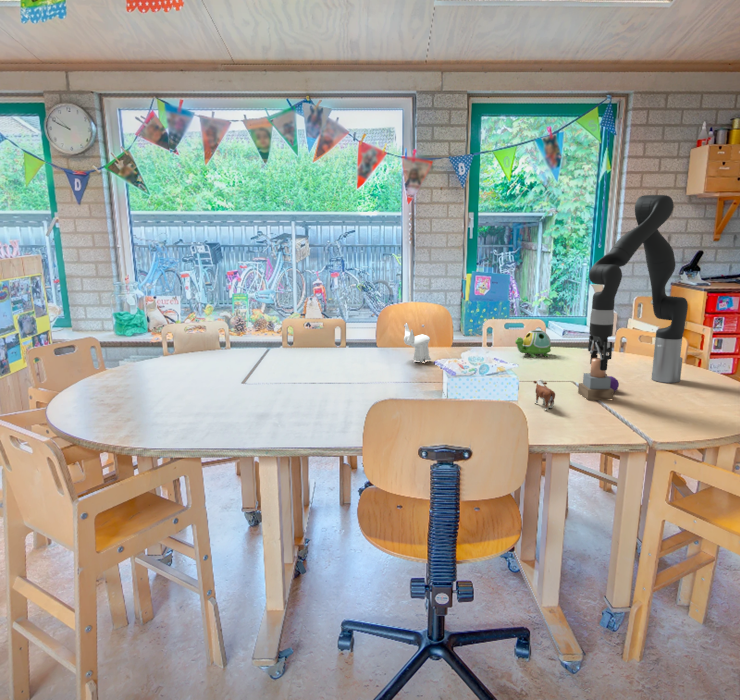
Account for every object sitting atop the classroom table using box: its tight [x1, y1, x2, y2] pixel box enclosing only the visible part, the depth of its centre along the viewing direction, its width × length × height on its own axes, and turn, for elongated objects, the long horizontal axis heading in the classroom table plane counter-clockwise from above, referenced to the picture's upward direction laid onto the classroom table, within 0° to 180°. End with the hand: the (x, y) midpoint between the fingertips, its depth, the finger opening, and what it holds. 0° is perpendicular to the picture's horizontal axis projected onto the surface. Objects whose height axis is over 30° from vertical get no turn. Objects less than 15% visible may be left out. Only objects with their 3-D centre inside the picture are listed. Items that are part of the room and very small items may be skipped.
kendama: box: [606, 373, 620, 393], centre depth 208 cm, size 6×6×20 cm
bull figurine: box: [533, 378, 556, 411], centre depth 184 cm, size 4×13×8 cm, turn 2°
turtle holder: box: [515, 329, 552, 358], centre depth 262 cm, size 12×18×12 cm
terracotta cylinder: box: [590, 357, 607, 378], centre depth 193 cm, size 5×5×6 cm
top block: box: [582, 372, 611, 389], centre depth 195 cm, size 7×7×4 cm
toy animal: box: [403, 322, 432, 363], centre depth 252 cm, size 20×12×17 cm, turn 3°
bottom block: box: [577, 382, 615, 401], centre depth 195 cm, size 9×9×4 cm
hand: (598, 367), depth 193 cm, fingers open, 8 cm apart
